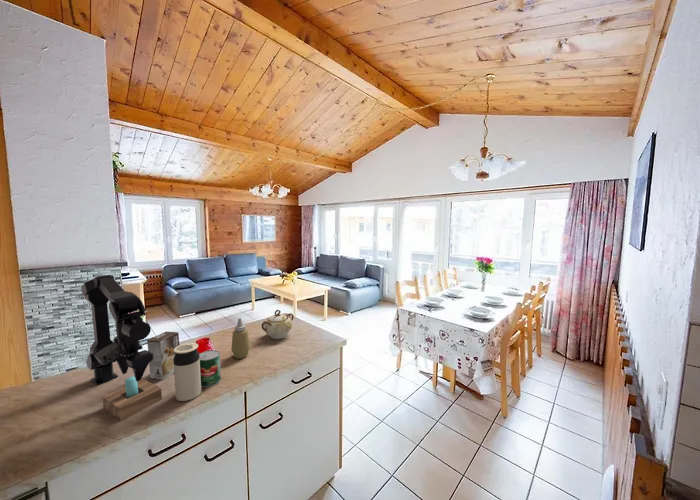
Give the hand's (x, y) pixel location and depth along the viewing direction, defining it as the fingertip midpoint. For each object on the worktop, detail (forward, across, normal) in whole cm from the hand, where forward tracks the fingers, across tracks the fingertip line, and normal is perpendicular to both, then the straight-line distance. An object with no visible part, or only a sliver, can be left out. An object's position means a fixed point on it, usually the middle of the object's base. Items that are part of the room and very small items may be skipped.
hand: (131, 377), depth 93 cm
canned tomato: (+10, +11, +21) cm, 26 cm away
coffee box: (+10, -10, +16) cm, 21 cm away
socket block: (+10, 0, 0) cm, 10 cm away
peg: (+10, 0, 0) cm, 10 cm away
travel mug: (+10, +12, +12) cm, 20 cm away
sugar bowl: (+10, +5, +66) cm, 67 cm away
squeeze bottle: (+10, +5, +41) cm, 42 cm away
